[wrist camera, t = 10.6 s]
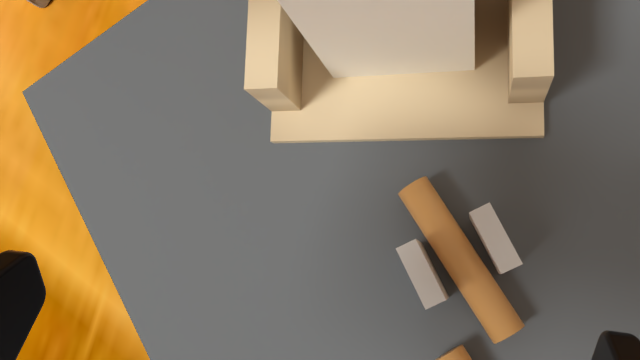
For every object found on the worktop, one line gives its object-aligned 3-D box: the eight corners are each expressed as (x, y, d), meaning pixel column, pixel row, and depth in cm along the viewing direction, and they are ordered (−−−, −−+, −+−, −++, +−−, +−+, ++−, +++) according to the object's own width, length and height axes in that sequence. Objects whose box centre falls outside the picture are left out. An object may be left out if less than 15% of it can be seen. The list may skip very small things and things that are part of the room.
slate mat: (1496, 323, 13) (1527, 325, 13) (392, 849, 17) (391, 863, 16) (698, -393, 20) (703, -405, 19) (29, 95, 23) (22, 92, 23)
